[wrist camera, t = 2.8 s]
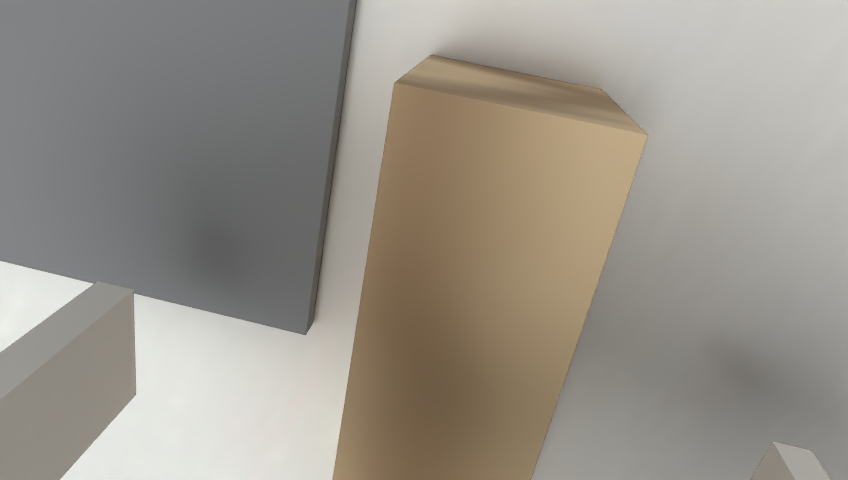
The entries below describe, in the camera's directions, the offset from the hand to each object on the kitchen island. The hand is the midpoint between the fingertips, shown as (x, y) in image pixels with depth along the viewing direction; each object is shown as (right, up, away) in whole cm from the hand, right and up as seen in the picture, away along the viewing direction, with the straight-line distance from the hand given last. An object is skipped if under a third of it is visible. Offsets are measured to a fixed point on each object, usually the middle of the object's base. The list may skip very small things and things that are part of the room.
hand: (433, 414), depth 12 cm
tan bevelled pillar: (+1, +1, +4) cm, 5 cm away
